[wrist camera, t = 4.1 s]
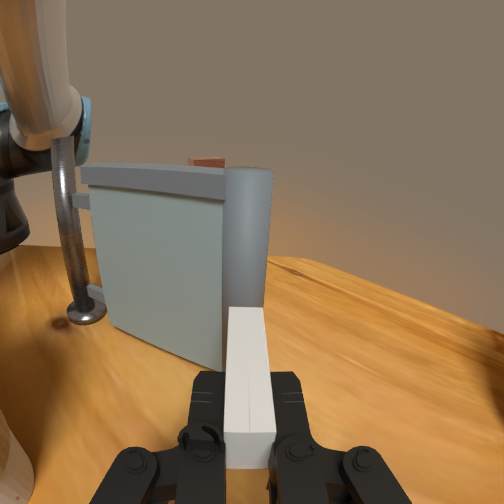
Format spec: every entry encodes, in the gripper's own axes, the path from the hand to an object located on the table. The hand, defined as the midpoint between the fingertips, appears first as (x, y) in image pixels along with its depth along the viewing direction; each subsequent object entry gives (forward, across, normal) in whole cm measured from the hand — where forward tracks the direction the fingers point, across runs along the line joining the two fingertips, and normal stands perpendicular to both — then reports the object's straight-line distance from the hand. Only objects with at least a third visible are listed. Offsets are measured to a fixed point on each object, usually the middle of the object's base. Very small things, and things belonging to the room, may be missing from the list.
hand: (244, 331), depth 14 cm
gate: (+6, -6, -7) cm, 11 cm away
